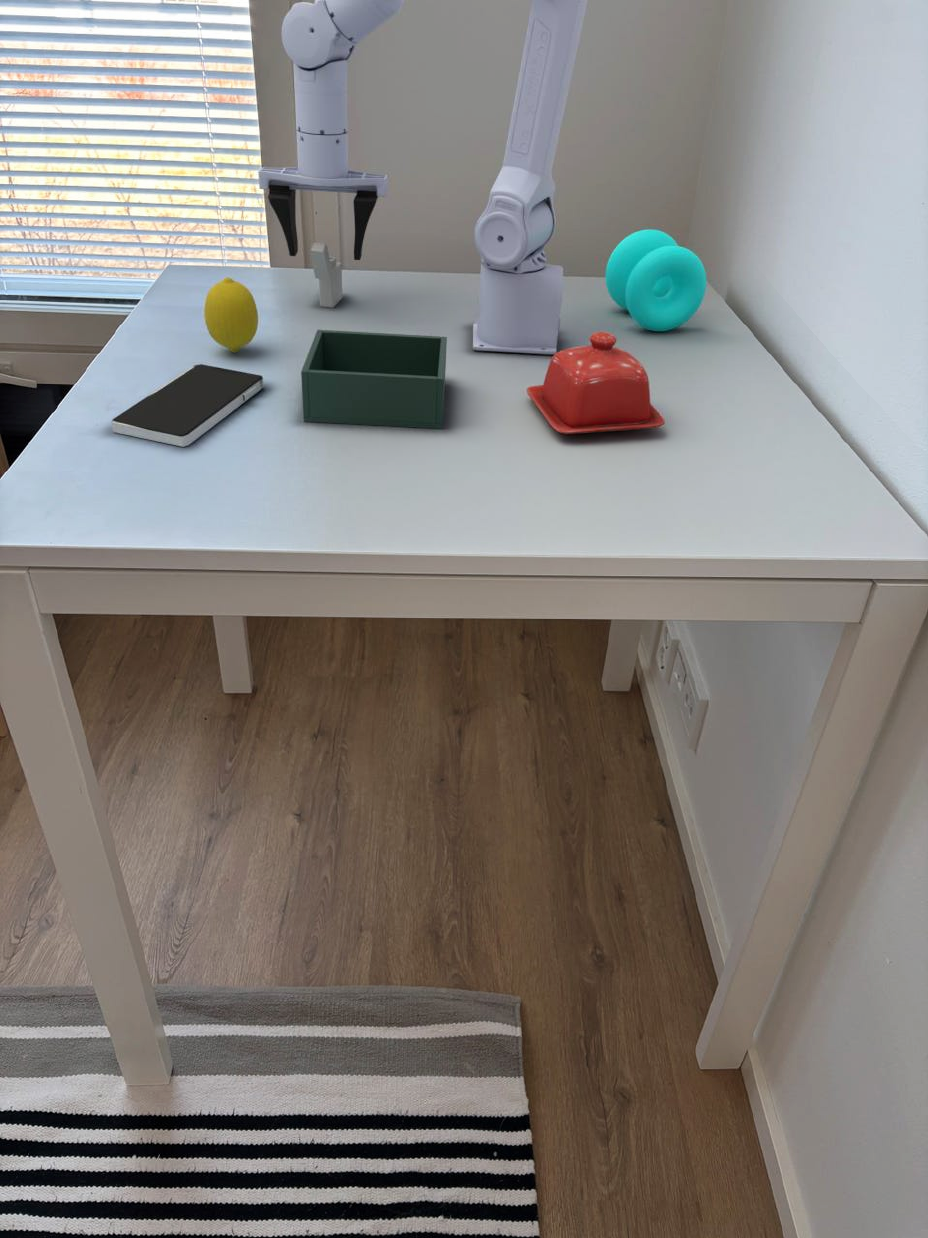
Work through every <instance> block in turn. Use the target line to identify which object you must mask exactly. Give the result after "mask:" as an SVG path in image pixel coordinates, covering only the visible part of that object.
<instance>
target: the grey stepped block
mask: <svg viewBox="0 0 928 1238" xmlns="http://www.w3.org/2000/svg"><path fill="white" fill-rule="evenodd" d="M309 255H310V259H311V265H312V269H313V273H314V277H315V279H318V288H319V306H320V307H324V308H330V309H331V308H334V307H336V305H337V304H338V303H339V302H340V301H341V300H342V299H343V270H342V267H343V266H342V265H343V264H342V262H338V261H337V257H336V256H330V253H329V249H328V245H327V244H325V243H322V242H321V243H319V242H313V243H312V244H311V246H310V249H309Z"/></svg>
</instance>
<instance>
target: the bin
mask: <svg viewBox="0 0 928 1238" xmlns="http://www.w3.org/2000/svg"><path fill="white" fill-rule="evenodd" d="M447 344H448V337H447V336H439V335H438V336H437V335H421V334H403V333H385V332H368V331H367V332H366V331H347V330H332V329H331V330H330V329H329V330H328V329H317V330H316V332H315V335H314V338H313V340H312V342H311V345H310V348H309V351H308V352H307V356H306V359H305V361H304V364H303V366H302V368H301V371H300V376H301V396H302V414H303V418H302V419H303V422H305V423H307V422H308V423H325V424H342V425H345V424H346V425H360V426H361V425H363V426H382V427H402V428H420V429H438V430H443V418H444V417H443V416H444V402H445V389H446V369H447V368H446V367H447V366H446V365H447V347H448V346H447Z"/></svg>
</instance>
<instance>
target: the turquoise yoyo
mask: <svg viewBox="0 0 928 1238" xmlns="http://www.w3.org/2000/svg"><path fill="white" fill-rule="evenodd" d="M605 286H606V289H607V292H608V294H609V296H610V298H611V299H612V300H613V302H614V303H616V305H617V306H619V307H620V308H622V309H623V310H626V311H628V313H629V315H630V317H631V318H632V319H633V321H634V322H635V323H636V324H638V325H639V326H640V327H642V328H644V329H645V330H649V331H653V332H666V331H671V330H675V329H676V328H678V327H680V326H682V325H683V324H685V323H686V322H687V321H689V320H690V319H691V318H693V316H694V315H695V314H696V313H697V312H698V309H699V308H700V307H701V305H702V302H703V300H704V298H705V295H706V290H707V273H706V270H705V266H704V264H703V262H702V260H701V259H700V257H699V256H698V255H697V254H696V253H694V252H693V251H692V250H690V249H688V248H686V247H683V246H680V245H678V243H677V241H676V240H675V239H674V238H673V237H672V236H670V235H669V234H668V233H666V232H664V231H662V230H659V229H642V230H638V231H636V232H633V233H631V234H629V235H628V236H626V237H624V238H623V239H622V240H621V241H620V242H619V243H618V244H617V245H616V247H615V248H614V249H613V251H612V252H611V254H610V257H609V259H608V261H607V264H606V267H605Z"/></svg>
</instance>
